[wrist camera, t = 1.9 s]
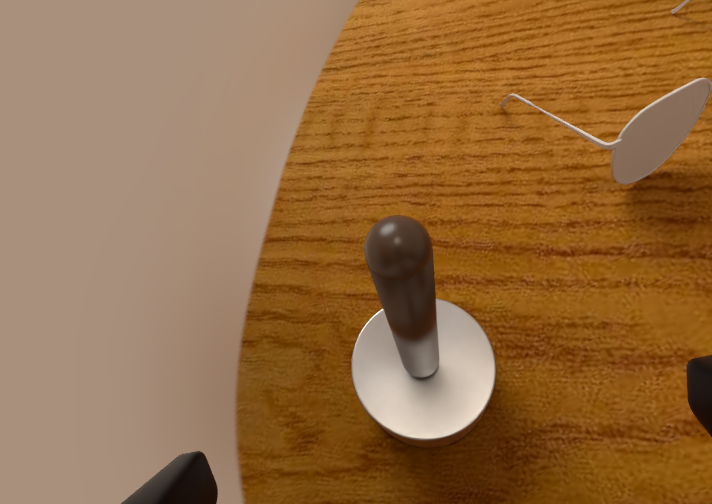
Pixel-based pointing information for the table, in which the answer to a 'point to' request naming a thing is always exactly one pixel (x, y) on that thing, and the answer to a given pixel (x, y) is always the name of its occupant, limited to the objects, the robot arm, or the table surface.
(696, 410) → the robot arm
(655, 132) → the sunglasses
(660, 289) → the table surface
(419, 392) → the silver joystick
